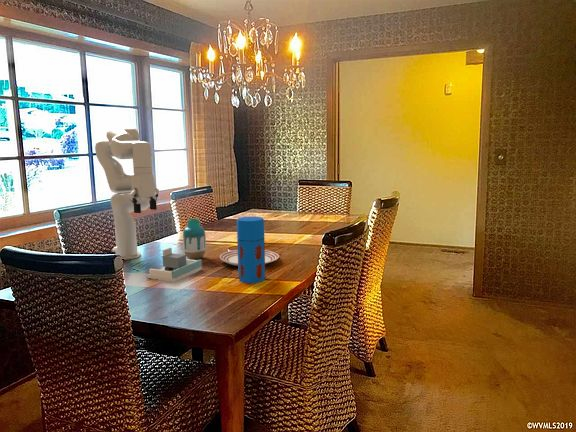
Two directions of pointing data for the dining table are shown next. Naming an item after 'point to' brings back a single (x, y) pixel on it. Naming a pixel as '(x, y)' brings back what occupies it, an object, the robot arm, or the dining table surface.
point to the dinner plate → (232, 257)
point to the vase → (194, 239)
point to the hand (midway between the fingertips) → (145, 211)
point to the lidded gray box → (173, 260)
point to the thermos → (251, 249)
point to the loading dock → (176, 271)
